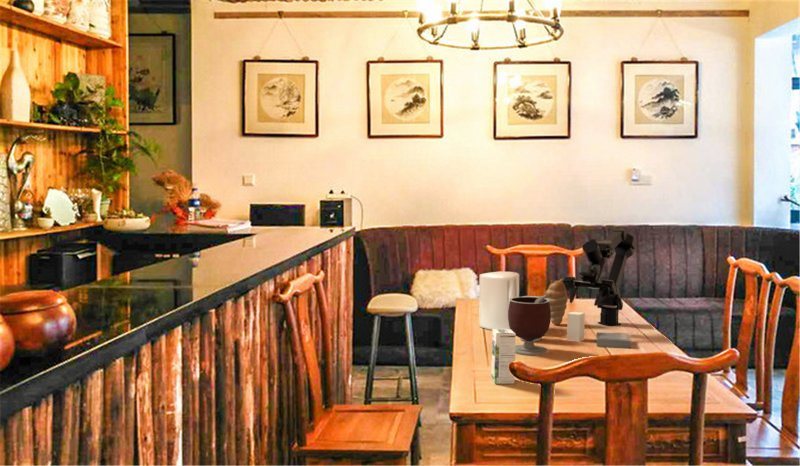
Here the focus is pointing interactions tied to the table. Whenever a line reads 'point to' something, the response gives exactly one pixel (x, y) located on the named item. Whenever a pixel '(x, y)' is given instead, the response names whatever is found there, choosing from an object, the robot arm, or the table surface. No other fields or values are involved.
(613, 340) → the plate
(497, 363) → the syrup box
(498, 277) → the paper towel roll
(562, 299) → the spiral seashell
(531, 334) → the mate gourd
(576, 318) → the block
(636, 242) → the robot arm
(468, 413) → the table surface
